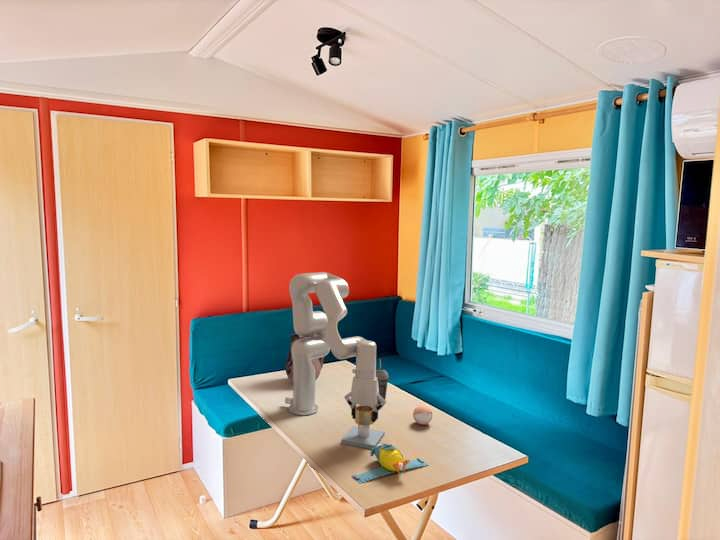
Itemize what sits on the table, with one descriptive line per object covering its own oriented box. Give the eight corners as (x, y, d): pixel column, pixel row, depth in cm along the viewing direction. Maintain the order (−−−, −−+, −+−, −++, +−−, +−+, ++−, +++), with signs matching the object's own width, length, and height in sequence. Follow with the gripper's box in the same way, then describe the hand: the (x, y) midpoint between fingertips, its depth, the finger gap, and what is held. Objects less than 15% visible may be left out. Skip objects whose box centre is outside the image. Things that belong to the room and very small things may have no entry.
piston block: (341, 443, 186) (341, 426, 186) (353, 429, 199) (353, 413, 198) (374, 449, 182) (375, 432, 182) (384, 435, 194) (385, 419, 194)
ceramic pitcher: (283, 377, 258) (284, 330, 256) (324, 375, 263) (325, 329, 261) (287, 389, 241) (288, 338, 239) (330, 387, 247) (331, 337, 244)
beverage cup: (376, 406, 224) (378, 362, 222) (369, 400, 230) (370, 358, 228) (390, 403, 227) (392, 361, 225) (382, 398, 234) (384, 356, 231)
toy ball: (415, 428, 202) (416, 409, 201) (410, 420, 210) (411, 402, 209) (434, 427, 203) (435, 408, 202) (428, 419, 211) (429, 401, 210)
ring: (351, 423, 187) (352, 410, 187) (358, 416, 194) (358, 403, 194) (370, 426, 185) (371, 413, 184) (376, 419, 192) (377, 406, 191)
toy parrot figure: (364, 464, 155) (342, 445, 168) (364, 491, 156) (342, 469, 169) (437, 446, 168) (411, 430, 182) (436, 471, 169) (410, 453, 182)
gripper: (340, 373, 187) (339, 419, 189) (385, 379, 181) (383, 426, 183) (347, 368, 194) (346, 412, 196) (390, 373, 188) (389, 419, 190)
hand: (364, 418), depth 189 cm, fingers closed on ring, 7 cm apart
